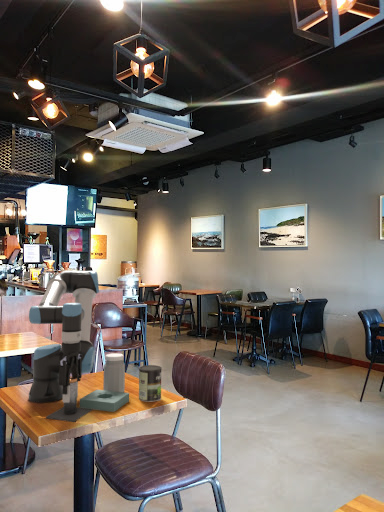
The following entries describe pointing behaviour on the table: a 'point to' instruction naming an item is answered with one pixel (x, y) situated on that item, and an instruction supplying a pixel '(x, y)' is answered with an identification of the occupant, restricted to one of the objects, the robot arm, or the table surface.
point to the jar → (114, 373)
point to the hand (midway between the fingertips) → (70, 399)
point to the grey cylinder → (71, 397)
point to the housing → (104, 400)
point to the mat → (68, 415)
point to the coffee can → (150, 383)
